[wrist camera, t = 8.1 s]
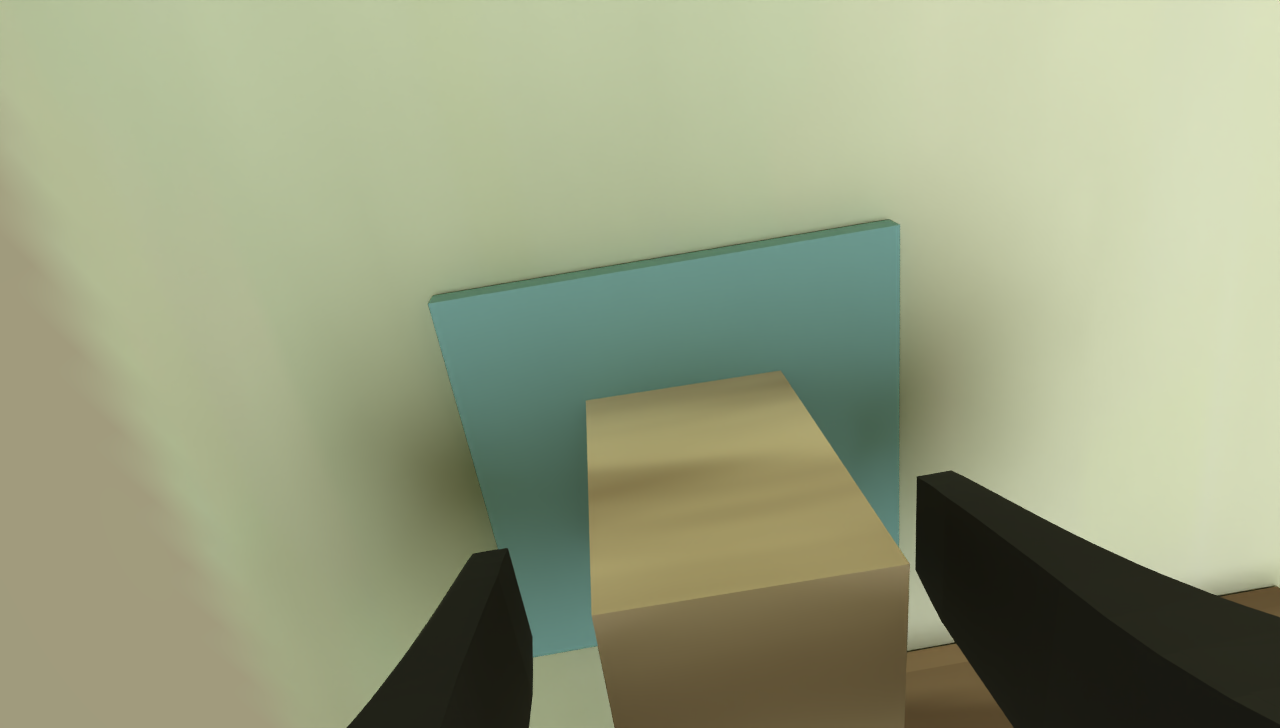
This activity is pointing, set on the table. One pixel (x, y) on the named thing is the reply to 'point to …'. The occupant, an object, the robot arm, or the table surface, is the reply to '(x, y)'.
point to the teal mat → (664, 379)
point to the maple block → (738, 565)
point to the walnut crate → (957, 698)
